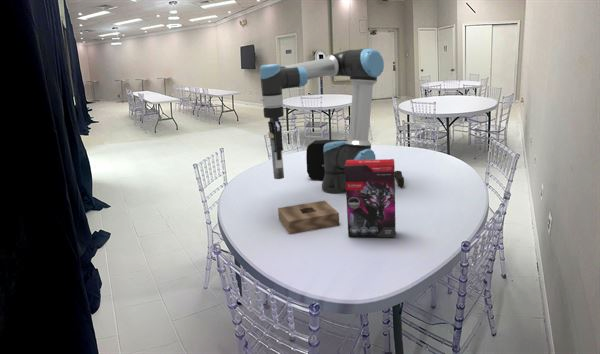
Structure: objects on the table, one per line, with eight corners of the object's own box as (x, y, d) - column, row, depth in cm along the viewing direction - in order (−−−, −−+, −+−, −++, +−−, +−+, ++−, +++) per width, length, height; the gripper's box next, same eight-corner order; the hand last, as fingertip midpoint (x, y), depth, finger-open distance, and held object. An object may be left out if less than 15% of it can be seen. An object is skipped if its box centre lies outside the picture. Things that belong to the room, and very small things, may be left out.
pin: (283, 175, 177) (280, 130, 172) (286, 178, 172) (283, 133, 167) (271, 176, 176) (267, 132, 171) (273, 180, 171) (269, 134, 166)
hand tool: (393, 177, 226) (393, 169, 224) (401, 177, 225) (401, 168, 224) (395, 189, 208) (395, 179, 207) (404, 189, 207) (404, 179, 206)
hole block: (325, 211, 184) (324, 200, 183) (339, 225, 169) (338, 212, 168) (278, 219, 179) (278, 207, 178) (289, 233, 164) (288, 221, 163)
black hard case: (307, 180, 230) (304, 143, 225) (313, 174, 241) (311, 138, 236) (364, 182, 221) (363, 143, 215) (368, 175, 232) (368, 138, 226)
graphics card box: (347, 237, 158) (344, 164, 150) (348, 230, 164) (345, 159, 157) (395, 238, 154) (395, 163, 147) (395, 230, 161) (395, 158, 153)
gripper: (259, 105, 173) (264, 162, 180) (267, 110, 157) (273, 173, 164) (278, 103, 175) (282, 160, 181) (288, 107, 159) (292, 170, 165)
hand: (278, 166), depth 173 cm, fingers closed on pin, 4 cm apart
